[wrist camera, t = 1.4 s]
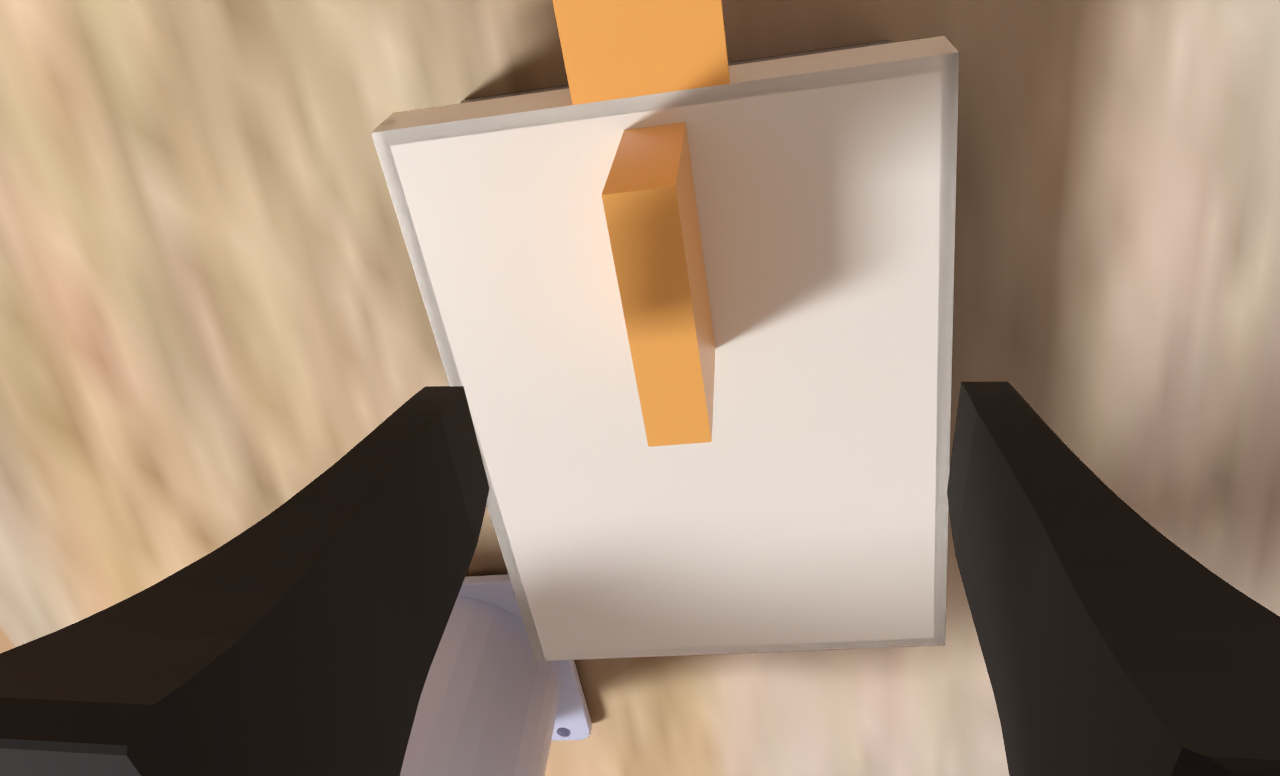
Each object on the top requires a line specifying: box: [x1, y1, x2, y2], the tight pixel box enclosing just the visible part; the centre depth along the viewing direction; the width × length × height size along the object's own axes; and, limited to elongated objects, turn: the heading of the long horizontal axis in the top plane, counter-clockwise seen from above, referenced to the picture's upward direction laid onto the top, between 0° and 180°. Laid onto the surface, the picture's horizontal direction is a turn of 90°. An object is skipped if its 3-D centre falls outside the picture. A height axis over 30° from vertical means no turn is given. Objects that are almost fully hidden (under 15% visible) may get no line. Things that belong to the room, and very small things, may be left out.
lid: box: [371, 0, 959, 661], centre depth 20 cm, size 11×17×5 cm, turn 9°
